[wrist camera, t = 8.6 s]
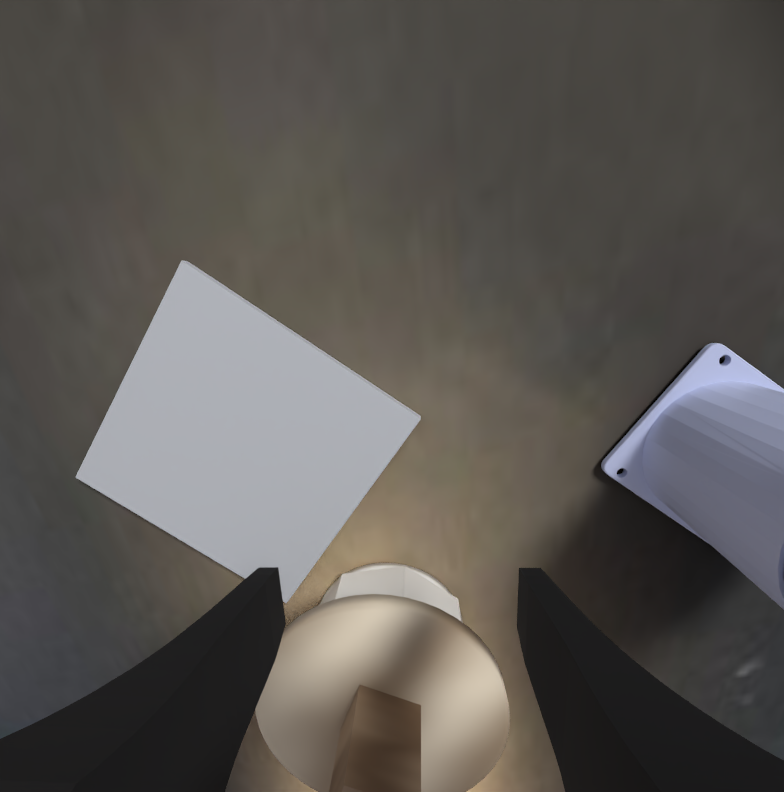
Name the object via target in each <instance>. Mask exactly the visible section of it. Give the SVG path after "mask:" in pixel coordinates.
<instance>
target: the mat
mask: <svg viewBox="0 0 784 792" xmlns="http://www.w3.org/2000/svg"><path fill="white" fill-rule="evenodd" d="M420 419H421V416H420V415H419V414H417V413H416V412H414V411H413V410H411V409H410V408H408V407H407V406H405V405H404V404H402V403H401V402H399V401H397V400H396V399H394V398H393V397H391V396H390V395H388V394H387V393H385V392H384V391H382V390H381V389H379V388H378V387H376V386H375V385H373V384H372V383H370V382H369V381H367V380H366V379H364V378H363V377H361V376H360V375H358V374H357V373H355V372H354V371H352V370H351V369H349V368H348V367H346V366H345V365H343V364H342V363H340V362H339V361H337V360H336V359H334V358H333V357H331V356H330V355H328V354H327V353H325V352H324V351H322V350H321V349H319V348H318V347H316V346H315V345H313V344H312V343H310V342H309V341H307V340H306V339H304V338H303V337H301V336H300V335H298V334H296V333H295V332H293V331H292V330H290V329H289V328H287V327H286V326H284V325H283V324H281V323H280V322H278V321H277V320H275V319H274V318H272V317H271V316H269V315H268V314H266V313H265V312H263V311H262V310H260V309H259V308H257V307H256V306H254V305H253V304H251V303H250V302H248V301H247V300H245V299H244V298H242V297H241V296H239V295H238V294H236V293H235V292H233V291H232V290H230V289H229V288H227V287H226V286H224V285H223V284H221V283H220V282H218V281H217V280H215V279H214V278H212V277H211V276H209V275H208V274H206V273H205V272H203V271H202V270H200V269H198V268H197V267H195V266H194V265H192V264H191V263H189V262H188V261H181V263H180V265H179V267H178V269H177V271H176V273H175V275H174V277H173V279H172V281H171V283H170V285H169V288H168V290H167V292H166V294H165V296H164V298H163V300H162V302H161V304H160V306H159V308H158V310H157V312H156V314H155V316H154V318H153V320H152V322H151V324H150V326H149V328H148V330H147V332H146V334H145V336H144V339H143V341H142V343H141V345H140V347H139V349H138V351H137V353H136V355H135V357H134V359H133V361H132V363H131V365H130V367H129V369H128V371H127V373H126V375H125V377H124V379H123V381H122V383H121V385H120V388H119V390H118V392H117V394H116V396H115V398H114V400H113V402H112V404H111V406H110V408H109V410H108V412H107V414H106V416H105V418H104V420H103V422H102V424H101V426H100V428H99V430H98V432H97V434H96V437H95V439H94V441H93V443H92V445H91V447H90V449H89V451H88V453H87V455H86V457H85V459H84V461H83V463H82V465H81V467H80V469H79V471H78V473H77V475H76V478H77V479H79V480H81V481H82V482H84V483H86V484H87V485H89V486H91V487H92V488H94V489H96V490H97V491H99V492H101V493H102V494H104V495H106V496H107V497H109V498H111V499H112V500H114V501H116V502H117V503H119V504H121V505H122V506H124V507H126V508H127V509H129V510H131V511H132V512H134V513H136V514H137V515H139V516H141V517H143V518H144V519H146V520H148V521H149V522H151V523H153V524H154V525H156V526H158V527H159V528H161V529H163V530H164V531H166V532H168V533H169V534H171V535H173V536H174V537H176V538H178V539H179V540H181V541H183V542H184V543H186V544H188V545H189V546H191V547H193V548H194V549H196V550H198V551H199V552H201V553H203V554H204V555H206V556H208V557H210V558H211V559H213V560H215V561H216V562H218V563H220V564H221V565H223V566H225V567H226V568H228V569H230V570H231V571H233V572H235V573H236V574H238V575H240V576H241V577H243V578H245V579H246V578H247V577H248V576H249V575H250V574H252V573H253V572H254V571H255V570H256V569H258V568H259V567H278V569H279V577H280V584H281V592H282V600H283V602H285V603H287V602H288V600H289V599H290V598H291V596H292V595H293V594H294V592H295V591H296V589H297V588H298V587H299V585H300V584H301V583H302V581H303V580H304V578H305V577H306V576H307V574H308V573H309V572H310V570H311V569H312V568H313V566H314V565H315V563H316V562H317V561H318V559H319V558H320V557H321V555H322V554H323V552H324V551H325V550H326V548H327V547H328V546H329V544H330V543H331V541H332V540H333V539H334V537H335V536H336V535H337V533H338V532H339V530H340V529H341V528H342V526H343V525H344V524H345V522H346V521H347V519H348V518H349V517H350V515H351V514H352V513H353V511H354V510H355V508H356V507H357V506H358V504H359V503H360V502H361V500H362V499H363V497H364V496H365V495H366V493H367V492H368V491H369V489H370V488H371V486H372V485H373V484H374V482H375V481H376V480H377V478H378V477H379V475H380V474H381V473H382V471H383V470H384V469H385V467H386V466H387V465H388V463H389V462H390V460H391V459H392V458H393V456H394V455H395V454H396V452H397V451H398V449H399V448H400V447H401V445H402V444H403V443H404V441H405V440H406V438H407V437H408V436H409V434H410V433H411V432H412V430H413V429H414V427H415V426H416V425H417V423H418V422H419V421H420Z"/></svg>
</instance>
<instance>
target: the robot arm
mask: <svg viewBox="0 0 784 792" xmlns="http://www.w3.org/2000/svg"><path fill="white" fill-rule="evenodd" d="M723 355H724V356H725V360H724V362H723V363H722V364H720V363H719V359H720V358H721V357H722V356H723ZM601 467H602V470H603V471H604V472H605V473H606V474H607V475H608V476H610V477H611V478H613V479H614V480H616V481H617V482H619V483H620V484H622V485H623V486H625V487H626V488H628V489H629V490H631V491H632V492H633V493H635V494H636V495H638V496H639V497H641V498H642V499H644V500H645V501H647V502H648V503H650V504H651V505H653V506H654V507H656V508H657V509H658V510H660V511H661V512H663V513H664V514H666V515H667V516H669V517H670V518H672V519H673V520H675V521H676V522H678V523H679V524H681V525H682V526H683V527H685V528H686V529H688V530H689V531H691V532H692V533H694V534H695V535H697V536H698V537H700V538H701V539H703V540H704V541H706V542H707V543H708V544H710V545H711V546H712V547H714V548H715V549H716V550H717V551H718V552H719V553H720V554H722V555H723V556H724V557H725V558H726V559H727V560H728V561H729V562H731V563H732V564H733V565H734V566H735V567H736V568H737V569H739V570H740V571H741V572H742V573H743V574H744V575H745V576H746V577H748V578H749V579H750V580H751V581H752V582H753V583H754V584H756V585H757V586H758V587H759V588H760V589H761V590H762V591H764V592H765V593H766V594H767V595H768V596H769V597H770V598H771V599H773V600H774V601H775V602H776V603H777V604H778V605H779V606H781V607H782V608H783V609H784V389H783V388H781V387H780V386H779V385H777V384H776V383H775V382H773V381H772V380H770V379H769V378H768V377H766V376H765V375H764V374H762V373H761V372H760V371H758V370H757V369H755V368H754V367H753V366H751V365H750V364H749V363H747V362H746V361H745V360H743V359H742V358H741V357H739V356H738V355H736V354H735V353H734V352H732V351H731V350H730V349H728V348H727V347H726V346H724V345H722V344H719V343H710V344H708V345H706V346H705V347H704V348H703V349H702V350H701V351H700V352H699V353H698V354H697V356H696V357H695V358H694V359H693V360H692V361H691V362H690V363H689V365H688V366H687V367H686V368H685V369H684V370H683V371H682V372H681V374H680V375H679V376H678V377H677V378H676V379H675V380H674V381H673V382H672V384H671V385H670V386H669V387H668V388H667V389H666V390H665V391H664V393H663V394H662V395H661V396H660V397H659V398H658V399H657V400H656V401H655V403H654V404H653V405H652V406H651V407H650V408H649V409H648V410H647V412H646V413H645V414H644V415H643V416H642V417H641V418H640V419H639V421H638V422H637V423H636V424H635V425H634V426H633V427H632V428H631V429H630V431H629V432H628V433H627V434H626V435H625V436H624V437H623V438H622V440H621V441H620V442H619V443H618V444H617V445H616V446H615V447H614V449H613V450H612V451H611V452H610V453H609V454H608V455H607V456H606V457H605V459H604V460H603V461H602V464H601ZM620 468H624V470H623V472H622V473H621V474H617V471H618V470H619V469H620ZM285 624H286V623H285V615H284V607H283V600H282V592H281V584H280V577H279V569H278V567H259V568H258V569H256V570H255V571H254V572H253V573H252V574H250V575H249V576H248V577H247V578H246V579H245V580H244V581H243V582H241V583H240V584H239V585H238V586H237V587H236V588H235V589H234V590H232V591H231V592H230V593H229V594H228V595H227V596H226V597H224V598H223V599H222V600H221V601H220V602H219V603H218V604H216V605H215V606H214V607H213V608H212V609H211V610H209V611H208V612H207V613H206V614H205V615H203V616H202V617H201V618H200V619H198V620H197V621H196V622H195V623H193V624H192V625H191V626H190V627H188V628H187V629H186V630H185V631H183V632H182V633H181V634H180V635H178V636H177V637H176V638H175V639H173V640H172V641H171V642H169V643H168V644H167V645H165V646H164V647H162V648H161V649H160V650H158V651H157V652H155V653H154V654H153V655H151V656H150V657H148V658H147V659H145V660H144V661H142V662H141V663H139V664H138V665H136V666H135V667H133V668H132V669H130V670H129V671H127V672H125V673H124V674H122V675H120V676H119V677H117V678H115V679H114V680H112V681H111V682H109V683H107V684H106V685H104V686H102V687H101V688H99V689H97V690H96V691H94V692H92V693H91V694H89V695H87V696H85V697H83V698H82V699H80V700H78V701H76V702H74V703H73V704H71V705H69V706H67V707H65V708H63V709H61V710H59V711H57V712H55V713H54V714H52V715H50V716H48V717H46V718H44V719H42V720H40V721H38V722H36V723H34V724H32V725H30V726H28V727H25V728H23V729H21V730H19V731H17V732H15V733H12V734H10V735H8V736H6V737H4V738H1V739H0V792H225V789H226V786H227V783H228V780H229V776H230V773H231V770H232V767H233V764H234V761H235V758H236V756H237V753H238V750H239V748H240V745H241V742H242V740H243V737H244V735H245V733H246V730H247V728H248V725H249V723H250V720H251V718H252V716H253V713H254V711H255V708H256V706H257V704H258V701H259V699H260V696H261V694H262V692H263V689H264V687H265V684H266V682H267V679H268V677H269V674H270V672H271V669H272V667H273V664H274V662H275V659H276V656H277V653H278V649H279V646H280V643H281V639H282V635H283V632H284V628H285ZM517 629H518V634H519V638H520V643H521V648H522V652H523V657H524V661H525V665H526V668H527V671H528V674H529V677H530V680H531V683H532V686H533V689H534V692H535V695H536V698H537V701H538V704H539V707H540V710H541V713H542V716H543V719H544V722H545V725H546V728H547V731H548V734H549V737H550V740H551V743H552V746H553V749H554V752H555V755H556V759H557V762H558V766H559V769H560V772H561V776H562V780H563V784H564V788H565V792H784V761H783V760H782V759H780V758H778V757H776V756H774V755H772V754H771V753H769V752H767V751H765V750H763V749H762V748H760V747H758V746H757V745H755V744H753V743H752V742H750V741H748V740H747V739H745V738H743V737H742V736H740V735H739V734H737V733H735V732H734V731H732V730H730V729H729V728H727V727H726V726H724V725H722V724H721V723H719V722H718V721H716V720H715V719H713V718H712V717H710V716H709V715H707V714H705V713H704V712H702V711H701V710H699V709H698V708H697V707H695V706H694V705H692V704H691V703H689V702H688V701H687V700H685V699H684V698H682V697H681V696H680V695H678V694H677V693H675V692H674V691H672V690H671V689H670V688H668V687H667V686H666V685H664V684H663V683H662V682H660V681H659V680H658V679H656V678H655V677H654V676H653V675H651V674H650V673H649V672H648V671H646V670H645V669H644V668H642V667H641V666H640V665H639V664H637V663H636V662H635V661H634V660H632V659H631V658H630V657H629V656H628V655H627V654H625V653H624V652H623V651H622V650H621V649H620V648H619V647H617V646H616V645H615V644H614V643H613V642H612V641H611V640H610V639H609V638H607V637H606V636H605V635H604V634H603V633H602V632H601V631H600V630H599V629H598V628H597V627H596V626H595V625H594V624H593V623H592V622H591V621H590V620H589V619H588V618H587V617H586V616H585V615H584V614H583V613H582V612H581V611H580V610H579V609H578V608H577V607H576V606H575V605H574V604H573V603H572V602H571V601H570V600H569V598H568V597H567V596H566V595H565V594H564V593H563V592H562V591H561V590H560V589H559V588H558V586H557V585H556V584H555V583H554V582H553V581H552V580H551V579H550V578H549V577H548V575H547V574H546V573H545V572H544V571H543V570H542V569H541V568H519V584H518V613H517Z"/></svg>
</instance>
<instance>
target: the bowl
mask: <svg viewBox="0 0 784 792" xmlns="http://www.w3.org/2000/svg"><path fill="white" fill-rule="evenodd" d="M365 594H382V595H394V596H400V597H406V598H410V599H414V600H417V601H421V602H424V603H427V604H429V605H432V606H434V607H437V608H439V609H441V610H443V611H445V612H446V613H448V614H450V615H452V616H454V617H455V618H457V619H458V620H460V621H461V622H462V616H461V612H460V607H459V601H458V598H456V597H454V596H453V595H452V594H451V593H450V591H449V590H448V589H447V588H446V587H445V586H444V585H443V584H442V583H441V582H440V581H439V580H437V579H436V578H434V577H433V576H432V575H430V574H428V573H426V572H424V571H422V570H420V569H417V568H415V567H412V566H408V565H405V564H399V563H387V562H383V563H372V564H367V565H363V566H360V567H357V568H355V569H352V570H350V571H348V572H346V573H345V574H342V575H341V576H340V577H339V578H338V579H337V580H336V581H334V582H333V583H332V585H331V586H330V587H329V588H328V589H327V591H326V593H325V594H324V596H323V598H322V600H321V603H320V604H323V603H325V602H328V601H332V600H335V599H338V598H342V597H348V596H354V595H365ZM320 604H319V605H320ZM462 623H463V622H462Z"/></svg>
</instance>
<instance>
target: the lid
mask: <svg viewBox="0 0 784 792" xmlns="http://www.w3.org/2000/svg"><path fill="white" fill-rule="evenodd" d="M255 711H256V718H257V721H258V725H259V729H260V731H261V733H262V736H263V738H264V740H265V742H266V744H267V745H268V747H269V748H270V750H271V752H272V753H273V754H274V756H275V757H276V758H277V759H278V761H279V762H280V763H281V764H282V765H283V766H284V767H285V768H286V769H287V770H288V771H289V772H290V773H291V774H293V775H294V776H295V777H296V778H298V779H299V780H300V781H301V782H303V783H304V784H306V785H308V786H309V787H311V788H312V789H314V790H316V791H318V792H466V791H468V790H469V789H471V788H473V787H474V786H475V785H476V784H477V783H479V782H480V781H481V780H482V779H484V778H485V776H486V775H487V774H488V773H489V772H490V771H491V770H492V769H493V767H494V766H495V765H496V763H497V762H498V760H499V759H500V757H501V755H502V753H503V750H504V748H505V746H506V742H507V739H508V735H509V728H510V711H509V704H508V699H507V694H506V690H505V685H504V681H503V677H502V673H501V671H500V668H499V666H498V664H497V661H496V660H495V658H494V656H493V655H492V653H491V651H490V650H489V648H488V647H487V646H486V645H485V643H484V642H483V641H482V640H481V639H480V637H479V636H478V635H477V634H475V633H474V632H473V631H472V630H471V629H470V628H469V627H468V626H467V625H465V624H464V623H462V622H461V621H460V620H458V619H457V618H455V617H454V616H452V615H450V614H448V613H446V612H445V611H443V610H441V609H439V608H437V607H434V606H432V605H429V604H427V603H424V602H421V601H417V600H414V599H410V598H406V597H400V596H394V595H382V594H365V595H354V596H348V597H342V598H338V599H335V600H332V601H328V602H325V603H323V604H320V605H318V606H316V607H314V608H312V609H310V610H308V611H306V612H305V613H303V614H302V615H300V616H298V617H297V618H296V619H295V620H294V621H292V622H291V623H290V624H289V625H288V626H287V627H286V628H285V629H284V632H283V635H282V639H281V643H280V646H279V649H278V653H277V656H276V659H275V662H274V664H273V667H272V669H271V672H270V674H269V677H268V679H267V682H266V684H265V687H264V689H263V692H262V694H261V696H260V699H259V701H258V704H257V706H256V708H255Z"/></svg>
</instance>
